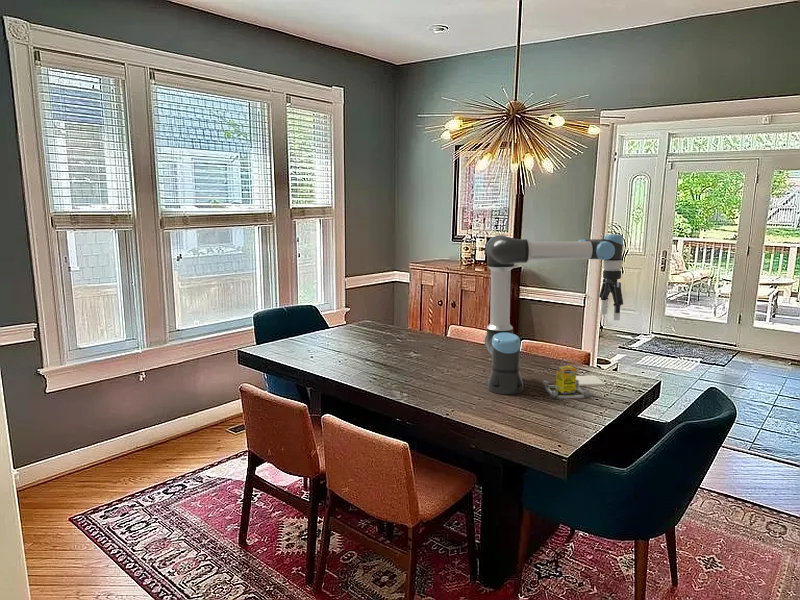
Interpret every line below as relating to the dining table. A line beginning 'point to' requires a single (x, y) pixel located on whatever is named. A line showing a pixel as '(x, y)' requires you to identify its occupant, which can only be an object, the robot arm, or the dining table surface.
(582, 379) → the plate
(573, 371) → the supplement box
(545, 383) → the grey rod square frame
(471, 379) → the dining table surface
